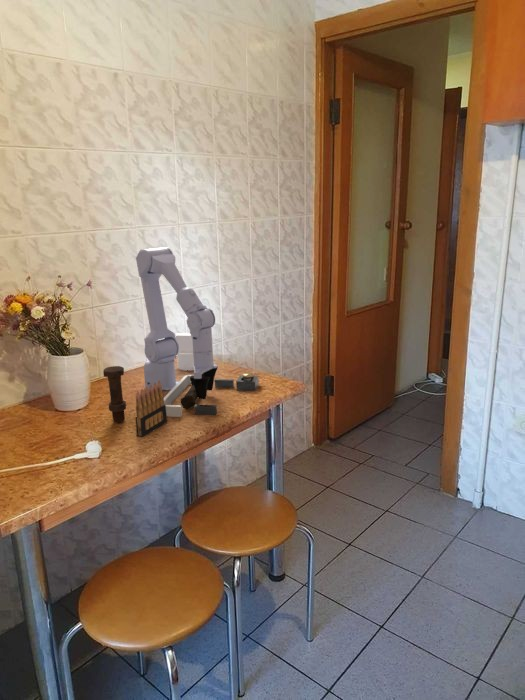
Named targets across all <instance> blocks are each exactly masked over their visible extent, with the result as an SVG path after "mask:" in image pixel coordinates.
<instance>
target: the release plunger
mask: <svg viewBox="0 0 525 700" xmlns="http://www.w3.org/2000/svg"><path fill="white" fill-rule="evenodd" d="M241 375H242V378H244V381H251V378H252V377H253V376H254V373H253V372H249V371H248V372H243V373H242V372H241Z"/></svg>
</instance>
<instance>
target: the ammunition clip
mask: <svg viewBox="0 0 525 700" xmlns="http://www.w3.org/2000/svg"><path fill="white" fill-rule="evenodd" d="M164 397H165V396H164V393H163V390H162V386H161V383H160V381H158V386H157V385H156V383H154V387H152V385H150V388H149V390H148V387H146V389H145V388H144V389H143V388H141V390H140V392H139V391H138V390H137V391H136V395H135V411H136V417H135V429H136V432H135V433H136V437H140V438H144V437H146V436H147V435H148V434H149V435H150V434H151V433H152V432H154V431H155V430H157V429H159V428H160V427H162V426H163V424H164V425H165V424H167V423H168V417H167V415H166V405H164ZM153 430H154V431H153ZM150 432H151V433H150Z"/></svg>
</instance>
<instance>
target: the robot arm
mask: <svg viewBox="0 0 525 700" xmlns="http://www.w3.org/2000/svg"><path fill="white" fill-rule="evenodd" d="M135 261H136V265H137V271H138V276H139V277H140V281H141V287H142V291H143V298H144V302H145V309H146V313H147V319H148V325H149V330H150V332H149V333H148V334H147V335H146V337H145V338H144V339H143V341H144V355H145V357H146V358H147V359H146V361H145V362H144V364H143V365H144V366H143V375H144V383H145V384H144V386H145V387H144V390H145V389H146V387H148V390H149V388H150V385H152V387H154V383H156V385H157V386H158V381H160V383H161V386H162V391H171V390H172V389H173V388H174V387H175V386H176V385H177V383H178V382H179V381H180V380H177V377H176V376H177V375H176V367H175V366H176V365H175V364H176V363H175V359H177V354H178V352H179V344H178V342H177V340H176V333H174V331H172V330H170V329H169V328H168V323H167V320H166V319H167V318H166V312H165V306H164V301H163V297H162V291H161V286H160V278H161V276H163V277H164V278H165V279H166V281H167V282H168V283H169V285H170V286H171V287H172V288H173V290H174V291H175V293H176V298H175V299H176V301H177V303H178V305H179V306H180V308H181V309H182V311H183V312H184V314H185V315H186V317H187V319H186V320H185V321H186V325H187V327H188V329H189V334H191V336H192V342H193V357H194V365H193V368H194V370H193V374H190V375H191V377H190V381H191V382H192V383H193V385H194V387H195V389H196V393H197V396H198V398H197V399H198V400H206V399H207V393H208V391H213V389H214V384H215V376H216V373H217V370H218V367H219V366H218V363H215V362H214V354H213V353H214V352H213V349H214V348H213V347H214V346H213V334H212V330H213V329H212V328H213V327H214V325H216V324H215V323H216V316H215V313H214V311H213V310H212V309H211V308H210V307H207V306H206V305H204V304H203V302H202V301H201V299H200V298H199V296H198V294H197V293H196V292H195V290H194V289H193V288H191V287H188V286H187V284H186V282H185V281H184V279H183V277H182V275H181V273H180V271H179V269H178V268H177V267H178V266H176V255H174V253H173V250H172V249H171V247H168V246H163V247H157V248H147V249H145V248H141V249H140V250H139V251H138V253H137V255H136V257H135Z"/></svg>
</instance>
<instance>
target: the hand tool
mask: <svg viewBox="0 0 525 700" xmlns="http://www.w3.org/2000/svg"><path fill="white" fill-rule="evenodd" d="M191 384H192V385H191V386H190V388H189V389H188V391H187V392H186V393H185V395H184V396H183V397H181V398H180V399H179V401H180V405H181V406H182V409H184V410H190V409H192V408H194V407H195V405H197V404H196V401H197V399H198V396H197V393H196V389H195V387H194V385H193V383H192V382H191Z"/></svg>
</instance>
